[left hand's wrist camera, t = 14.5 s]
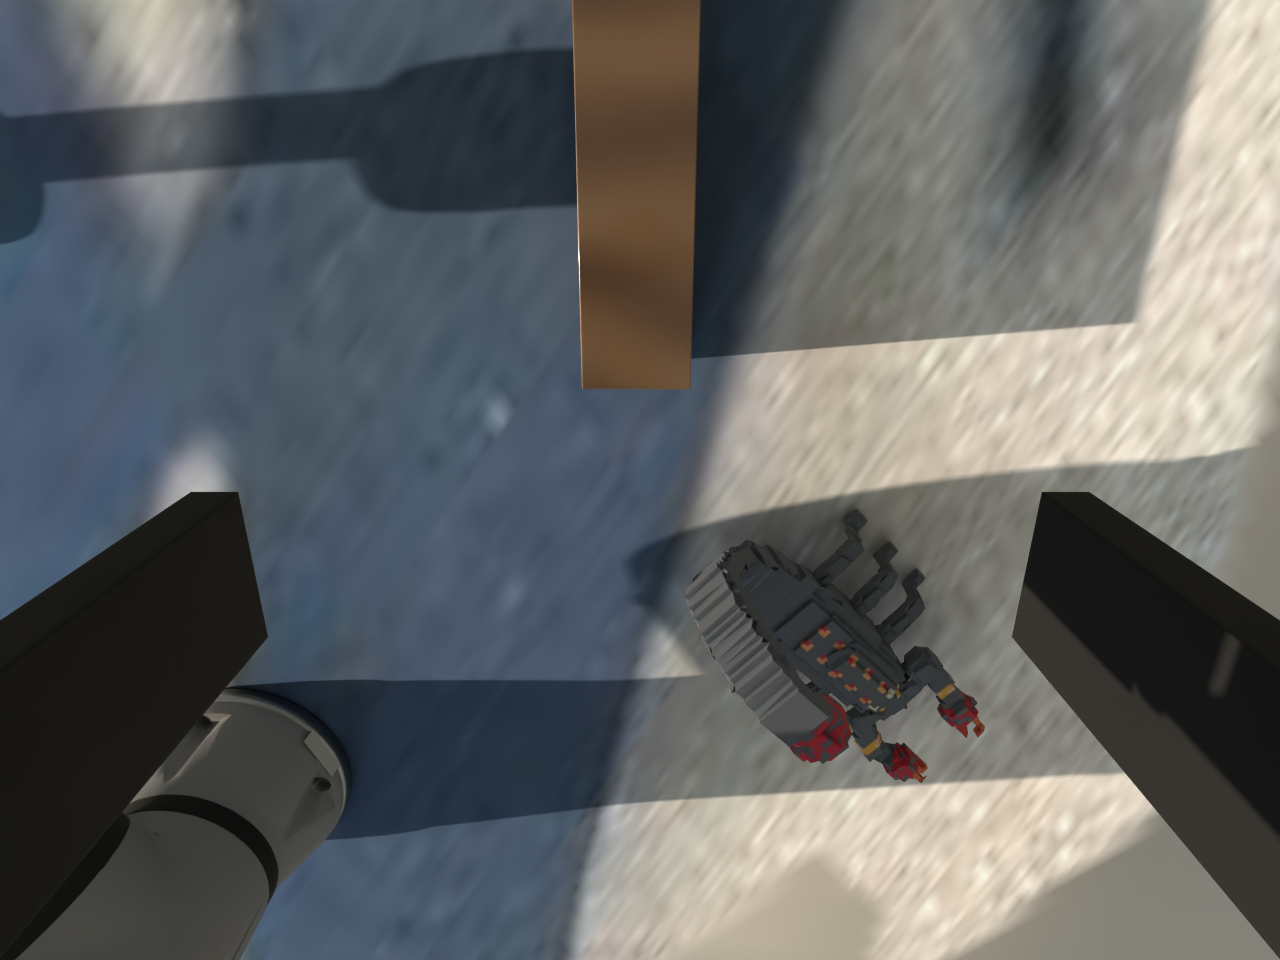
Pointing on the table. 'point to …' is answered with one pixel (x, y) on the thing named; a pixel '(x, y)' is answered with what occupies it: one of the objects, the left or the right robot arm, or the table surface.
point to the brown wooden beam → (636, 188)
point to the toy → (820, 650)
